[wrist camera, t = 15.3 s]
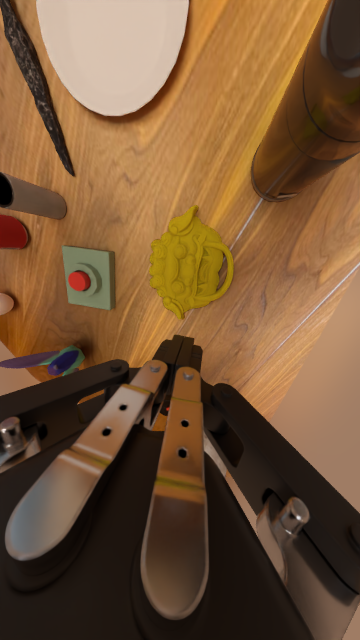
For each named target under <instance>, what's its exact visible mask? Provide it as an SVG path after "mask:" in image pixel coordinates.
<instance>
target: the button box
mask: <svg viewBox="0 0 360 640" xmlns="http://www.w3.org/2000/svg"><path fill="white" fill-rule="evenodd" d="M62 252H63V260H64V269H65V277H66V285H67V294H68V302H69V303H72V304H78V305H84V306H89V307H95V308H101V309H106V310H112V309H113V308H115V267H114V252H110V251H102V250H95V249H88V248H81V247H74V246H62ZM79 271H82V272H85V273H86V274H87V275H88V276H89V278H90V280H91V284H90V287H89V288H88V289H85V290H82V291H76V290H74V289H73V288H72V287H71V286H70V285H69V282H68V277H69V275H70V274H71V273H73V272H79Z"/></svg>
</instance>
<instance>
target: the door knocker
mask: <svg viewBox="0 0 360 640" xmlns="http://www.w3.org/2000/svg"><path fill="white" fill-rule="evenodd" d="M198 208H199V207H198V206H197V205H195V206H192V207H191V208H190V209H189V210H188V211H187V212H186V213H185V214H184V215H182V216H179V217H174V218H173V219H172V220H171V221H170V222H169V226H168V230H169V232H166V233H164V234H163V235H162V237H161V240H160V239H156V240H154V241H153V242H152V243H151V248H152V250H153V253H152V254H151V255H150V262H151V264H152V266H151V267H150V268H149V272H150V275H151V276H153V277H152V278H151V279H150V286H151V287H152V288H154V289H156V288H157V293H158V295H159V296H160V297H163V305H164V306H165V308H166V309H168V310H170V311H172V312H174V313H175V314H176V316H177V318H178V319H181V318H182V320H183V319H184V318H185V316H184V312H186V311H188V310H189V309H192V308H201V307H204V306H206V305H208V304H209V303H210V302H211V301H214V300H216V299H218V298H220V297H221V296H222V295H223V294H224V293H225V291H226V290H227V289H228V287H229V286H230V284H231V281H232V277H233V271H234V264H233V258H232V255H231V252H230V250H229V248H228V247H227V246H226V245H225V244H223V243H222V240H221V237H220V235H219V234H218V233H217V232H216V231H215V230H213V229H212V228H210V227H208V226H206V225H204V224H202V223H201V221H200V219H199V218H198V217H197V216H195V214H196V212H197V210H198ZM223 252H224V254H225V256H226V258H227V264H228V270H227V275H226V278H225V281H224V283H223V285H222V286H221V287H220V289H218V290H217V291H216V288H217V286H218V284H219V275H218V271H219V270H220V269H221V267H222V263H223Z"/></svg>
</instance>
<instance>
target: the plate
mask: <svg viewBox="0 0 360 640" xmlns="http://www.w3.org/2000/svg"><path fill="white" fill-rule="evenodd" d="M36 6H37V13H38V19H39V24H40V29H41V34H42V38H43V41H44V44H45V47H46V50H47V53H48V56H49V58H50V61H51V63H52V65H53V67H54V69H55V71H56V73H57V75H58V76H59V78H60V80H61V82H62V83H63V85H64V86H65V87H66V88H67V90H68V91H69V92H70V93H71V95H72V96H73V97H74V98H75V99H76V100H77V101H78V102H80V103H81V104H82V105H84V106H85V107H86V108H88V109H89V110H91V111H94V112H97V113H99V114H102V115H104V116H123V115H126V114H129V113H132V112H135V111H137V110H138V109H140V108H141V107H143V106H144V105H145V104H147V103H148V102H149V101H151V100H152V98H153V97H154V96H155V95H156V94H157V92H158V91H159V90H160V89H161V88H162V86H163V85H164V84H165V82H166V80H167V78H168V76H169V74H170V73H171V71H172V69H173V67H174V65H175V63H176V60H177V57H178V54H179V51H180V48H181V44H182V41H183V38H184V34H185V28H186V21H187V15H188V8H189V0H36Z"/></svg>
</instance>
